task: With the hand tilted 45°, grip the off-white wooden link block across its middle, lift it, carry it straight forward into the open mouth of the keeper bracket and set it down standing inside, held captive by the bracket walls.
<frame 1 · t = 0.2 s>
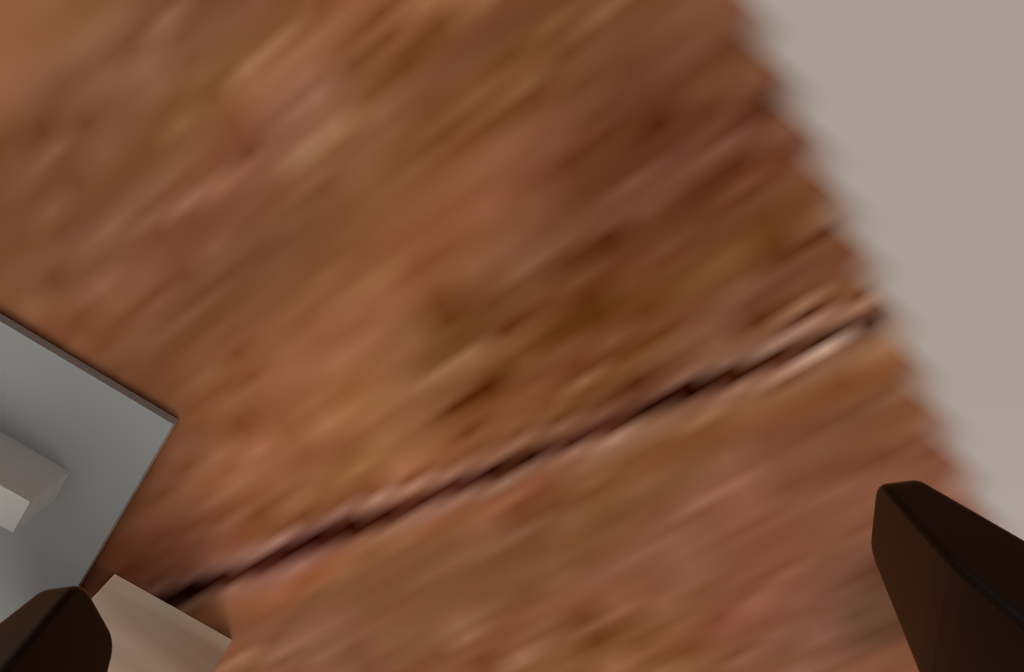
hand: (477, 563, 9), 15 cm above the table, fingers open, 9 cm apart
link block: (144, 654, 27), on the table
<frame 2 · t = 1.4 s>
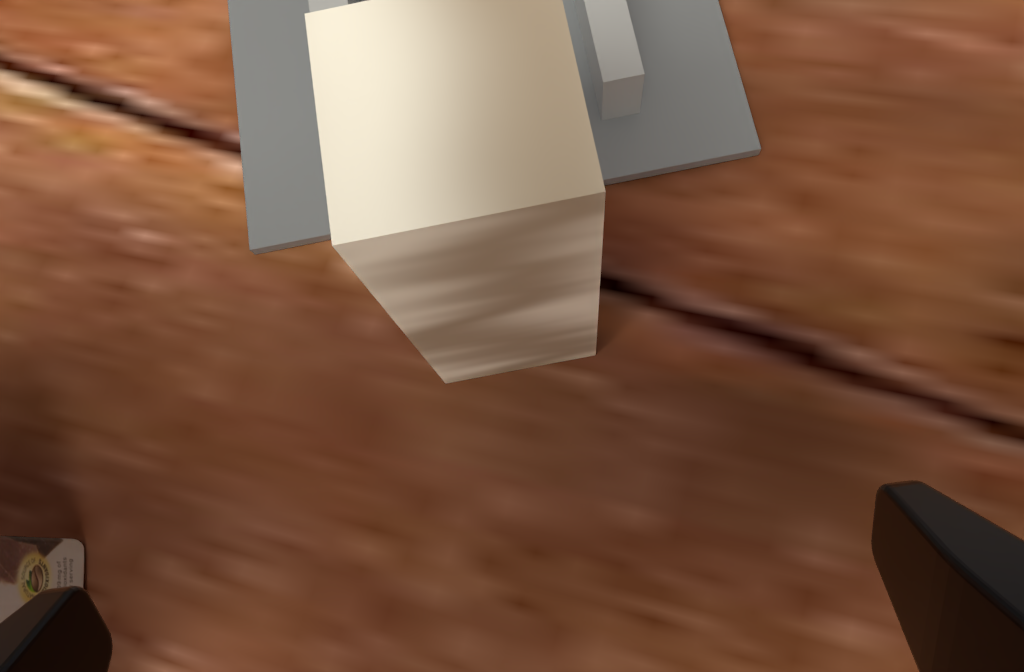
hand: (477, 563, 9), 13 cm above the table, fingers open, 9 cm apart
keeper bracket: (475, 55, 26), on the table
link block: (507, 298, 24), on the table
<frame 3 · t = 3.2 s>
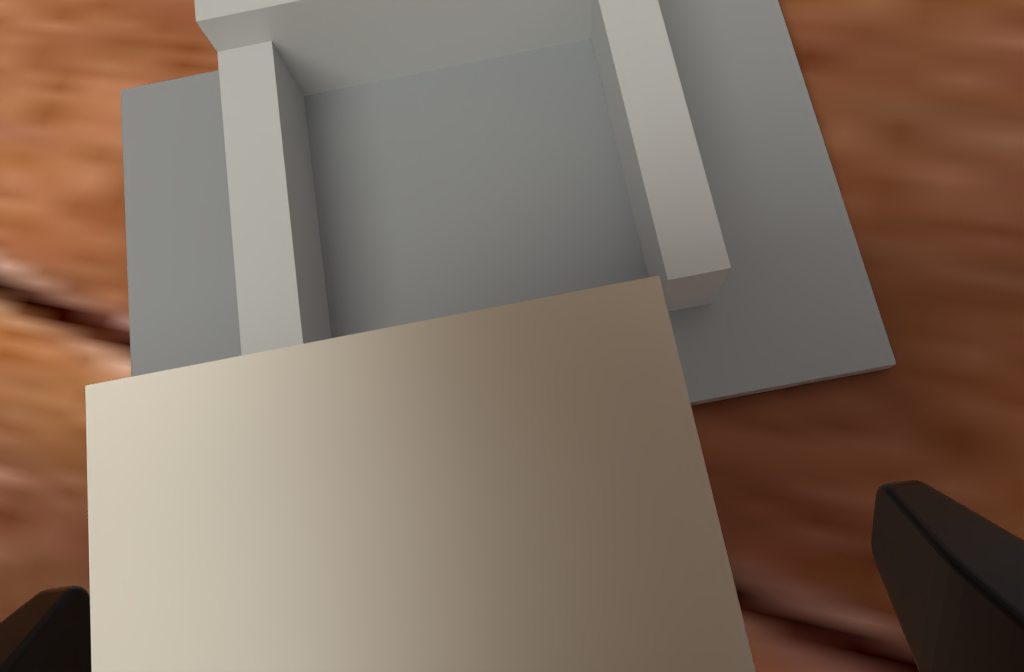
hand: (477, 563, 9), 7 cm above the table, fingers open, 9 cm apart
keeper bracket: (471, 206, 18), on the table
link block: (519, 588, 16), on the table
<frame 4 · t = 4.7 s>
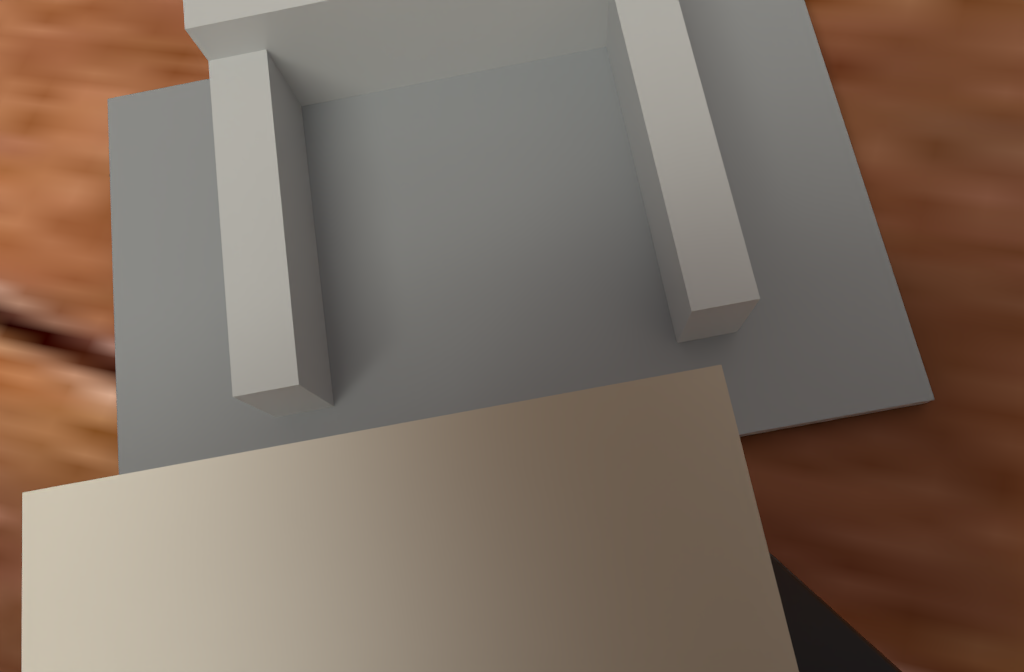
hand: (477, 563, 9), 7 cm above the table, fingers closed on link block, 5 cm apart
keeper bracket: (479, 224, 17), on the table
link block: (529, 638, 15), on the table, touching gripper
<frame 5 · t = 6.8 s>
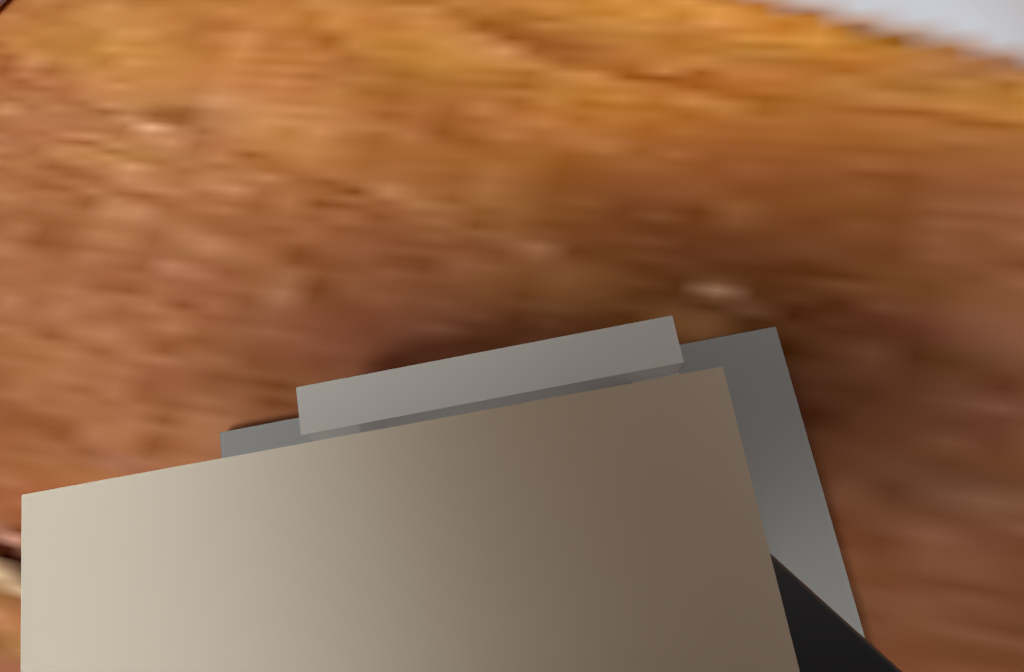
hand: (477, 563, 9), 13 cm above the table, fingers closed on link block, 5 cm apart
keeper bracket: (526, 549, 21), on the table
link block: (529, 639, 15), point 6 cm above the table, touching gripper
when the fingers open (8 cm above the table, at t = 8.8 s): link block drops 1 cm, resting on keeper bracket.
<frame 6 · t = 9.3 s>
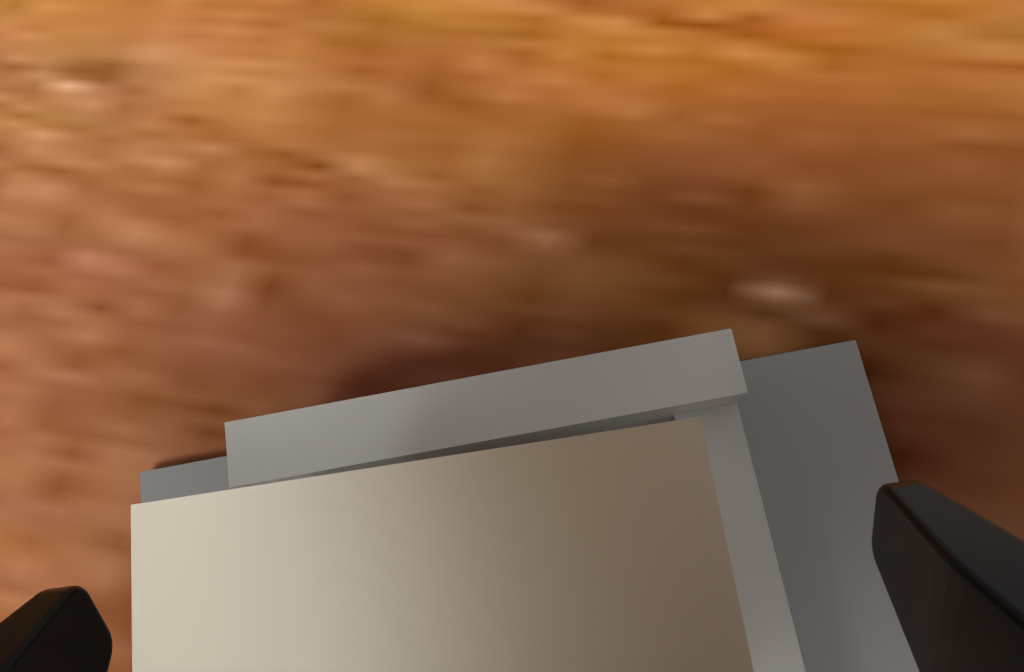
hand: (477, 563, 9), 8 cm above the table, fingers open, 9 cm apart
keeper bracket: (531, 629, 17), on the table
link block: (532, 634, 16), resting on keeper bracket
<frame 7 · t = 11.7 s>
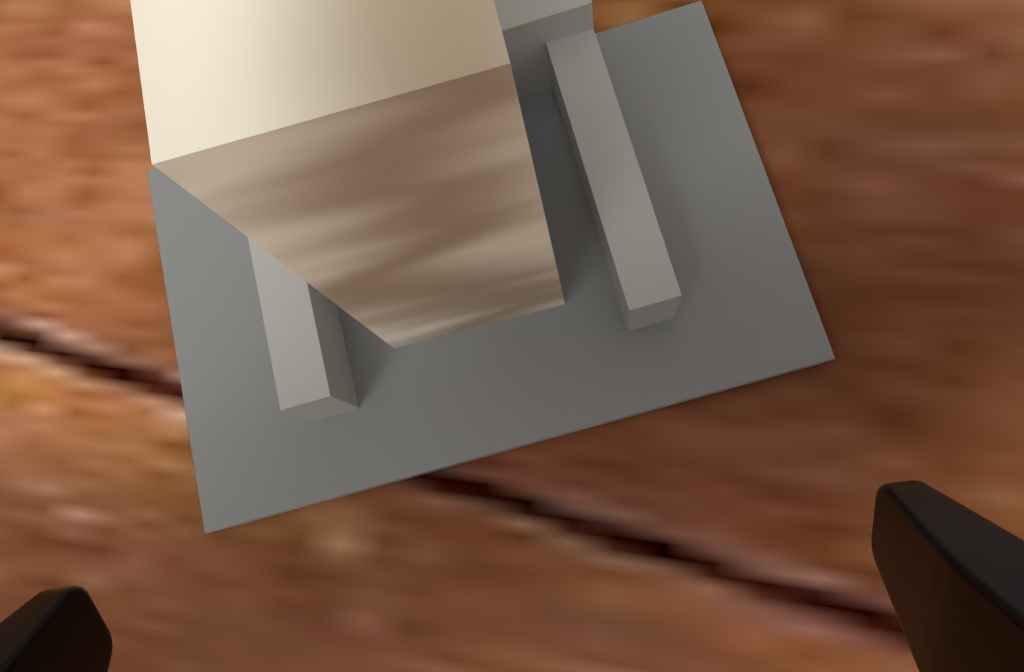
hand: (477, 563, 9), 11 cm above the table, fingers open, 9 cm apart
keeper bracket: (461, 248, 21), on the table
link block: (460, 245, 21), resting on keeper bracket
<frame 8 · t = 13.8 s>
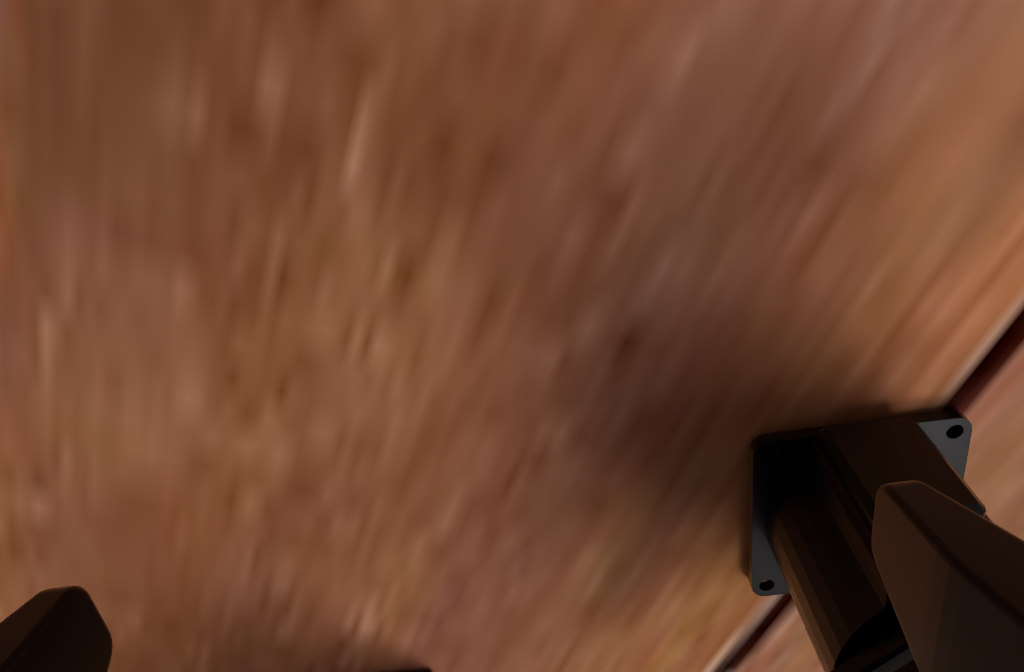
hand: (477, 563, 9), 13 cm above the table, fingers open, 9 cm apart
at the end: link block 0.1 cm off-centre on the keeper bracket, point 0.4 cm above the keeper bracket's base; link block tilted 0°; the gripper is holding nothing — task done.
